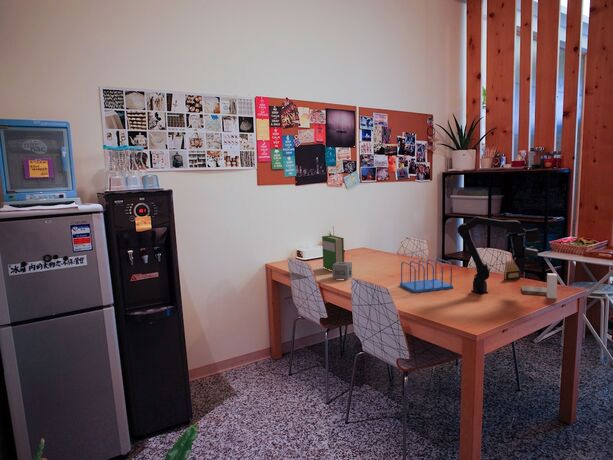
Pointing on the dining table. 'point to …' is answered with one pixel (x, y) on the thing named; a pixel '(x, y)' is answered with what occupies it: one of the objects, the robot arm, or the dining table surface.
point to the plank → (534, 290)
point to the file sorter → (426, 284)
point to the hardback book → (332, 250)
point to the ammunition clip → (511, 271)
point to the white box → (551, 285)
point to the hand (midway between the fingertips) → (522, 273)
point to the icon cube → (342, 270)
